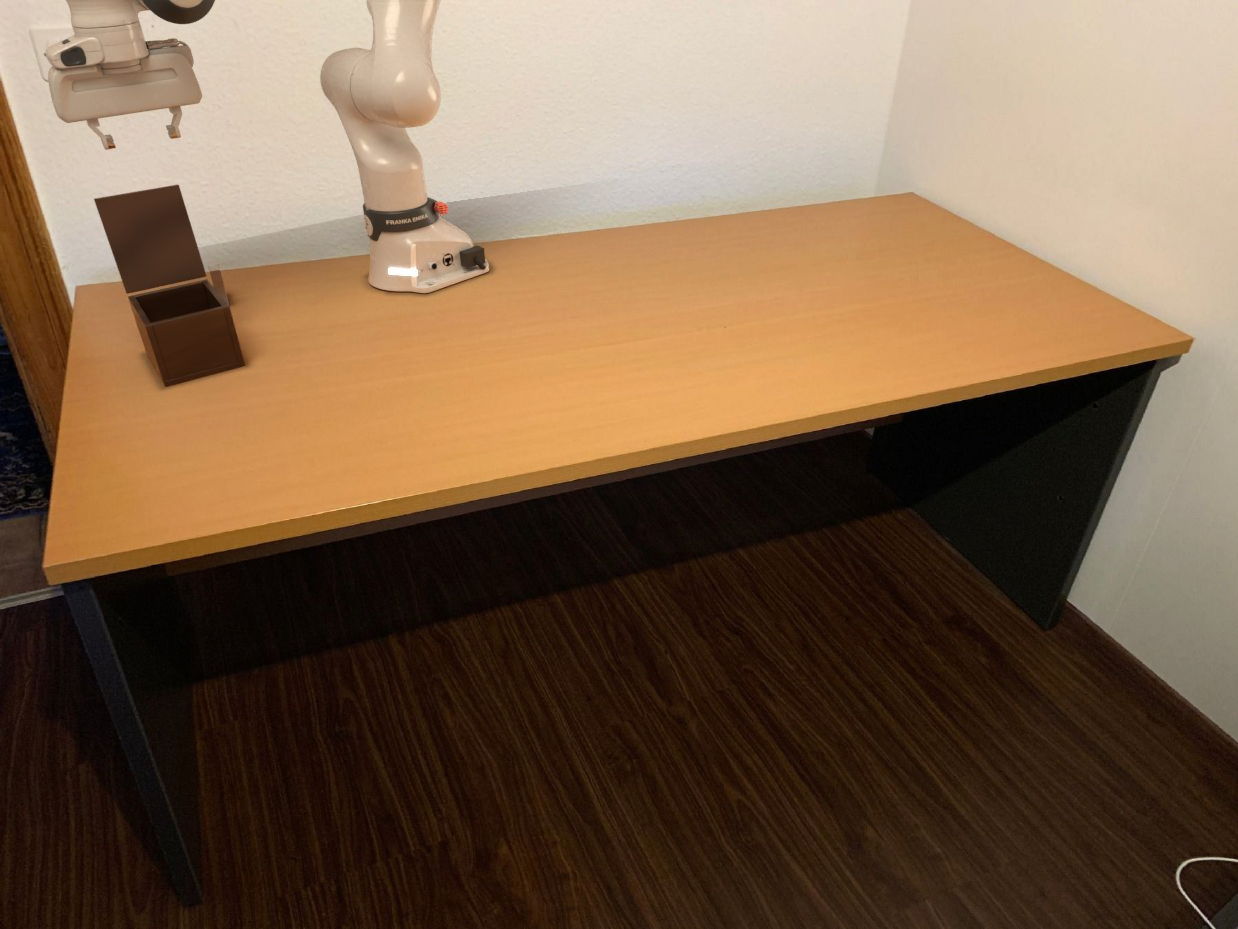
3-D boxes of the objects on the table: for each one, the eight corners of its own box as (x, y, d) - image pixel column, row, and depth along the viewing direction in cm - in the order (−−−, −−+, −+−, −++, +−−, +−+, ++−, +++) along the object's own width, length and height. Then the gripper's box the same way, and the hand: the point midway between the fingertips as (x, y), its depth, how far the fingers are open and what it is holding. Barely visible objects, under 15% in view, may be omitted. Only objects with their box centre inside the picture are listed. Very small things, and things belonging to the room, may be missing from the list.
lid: (178, 184, 139) (173, 182, 143) (94, 198, 134) (90, 196, 138) (206, 276, 145) (200, 272, 149) (126, 293, 140) (122, 288, 144)
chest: (245, 365, 142) (229, 306, 137) (165, 387, 137) (145, 326, 131) (222, 335, 151) (207, 278, 146) (146, 354, 146) (127, 296, 141)
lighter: (216, 297, 165) (205, 254, 160) (226, 295, 165) (215, 253, 161) (220, 311, 159) (208, 268, 155) (230, 310, 160) (219, 266, 156)
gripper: (182, 33, 140) (207, 127, 148) (32, 51, 131) (68, 150, 138) (192, 39, 136) (217, 135, 143) (38, 57, 126) (74, 159, 134)
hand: (143, 142), depth 141 cm, fingers open, 8 cm apart
